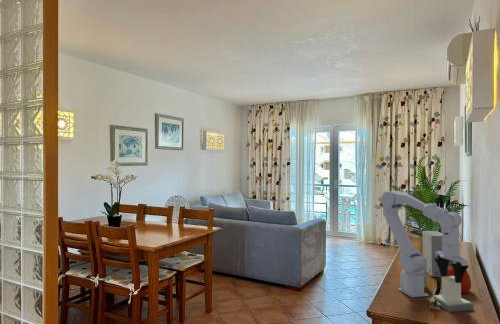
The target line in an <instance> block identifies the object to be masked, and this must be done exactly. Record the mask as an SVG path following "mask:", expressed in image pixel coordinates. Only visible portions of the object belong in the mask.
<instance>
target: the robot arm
mask: <svg viewBox="0 0 500 324" xmlns="http://www.w3.org/2000/svg"><path fill="white" fill-rule="evenodd" d="M380 203H381V205H382V210H383V211H382V213H383V215H384V218H385V220H386V222H387V224H388V227H389V228H390V230H391V233H392V235H393V238H394V239H395V241H396V244H397V245H398V248H399V250H400V253H399V260H400V266H401V269H402V270H401V272H400V275H399V280H400V281H399V282H400V285H399V287H400V288H398V290H399V291H400V292H402V293H404V294H406V295H407V296H409V297H411V298H419V297H429V296H430V295H429V293H427V292H425V287H424V269H425V268H426V267H427V261H426V259H425V258H424V257H423V254H422V253H421V251H420V250H419V249H417V248H415V247H414V245H413V243H412V242H413V241H412V240H411V238H410V236H409V234H408V232H407V230H406V228H405V226H404V224H403V222H402V220H401V218H400V216H399V214H398V213H399V211H400V209H401V208H402V207H403V206H404V205H408V206H409V207H412V208H415V209H417V210H419V211H421V212H422V214H423V216H424V217H427V218H428V219H430V220H432V221H434V222H437V223H438V224H439V225H440V228H441V233H442V251H435V255H436V256H438V257H437V258H434V260H435V261H436V263H437V265H438V267H439V270H440V274H441V276H442V277H445V276H447V273H448V266H449V263H450V262H454V263H451V264H450V266H452V267H453V270H454V276H455V282H456V283H462V279H463V276H464V273H465V271H467V270H468V268H469V265H468V259H466V258H464V257H462V256H460V231H459V230H460V229H459V228H460V227H459V226H461V224H462V216H461V215H460V214H459V213H457V212H456V211H449V209H447V208H445V209H444V208H442V207H440V206H438V204H437V203H435V202H433V203H432V202H430V203H425V202H423V201H421V200H420V199H417V198H416V197H414V196H412V195H410V194H409V193H408V192H404V191H402V190H393V191H389V190H387V191H384V192H383V193H382V194H381V197H380Z"/></svg>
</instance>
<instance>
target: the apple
mask: <svg viewBox="0 0 500 324" xmlns="http://www.w3.org/2000/svg"><path fill="white" fill-rule="evenodd" d="M447 276H454V270H453V267H452V265H448V273H447ZM454 277H455V276H454ZM471 289H472V280H471V276H470V274H469V273H468V271H467V270H466V271H465V273H464V276H463V279H462V283H461V294H467V293H469V292H470V291H471Z"/></svg>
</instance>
